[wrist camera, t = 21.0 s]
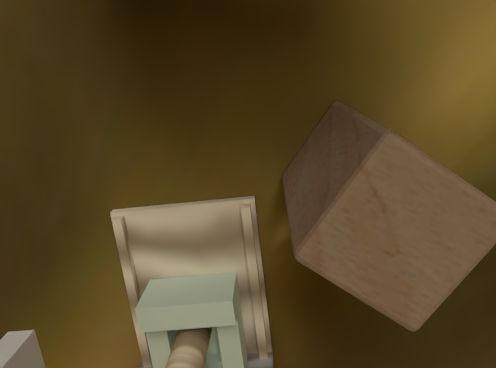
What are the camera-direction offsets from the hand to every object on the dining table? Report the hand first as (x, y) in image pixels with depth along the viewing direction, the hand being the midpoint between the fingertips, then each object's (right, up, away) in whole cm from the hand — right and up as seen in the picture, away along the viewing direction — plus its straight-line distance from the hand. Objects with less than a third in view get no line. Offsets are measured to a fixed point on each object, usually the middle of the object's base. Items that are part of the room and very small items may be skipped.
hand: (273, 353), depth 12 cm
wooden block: (+10, +7, +34) cm, 36 cm away
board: (-7, -8, +39) cm, 40 cm away
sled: (-6, -11, +39) cm, 41 cm away
